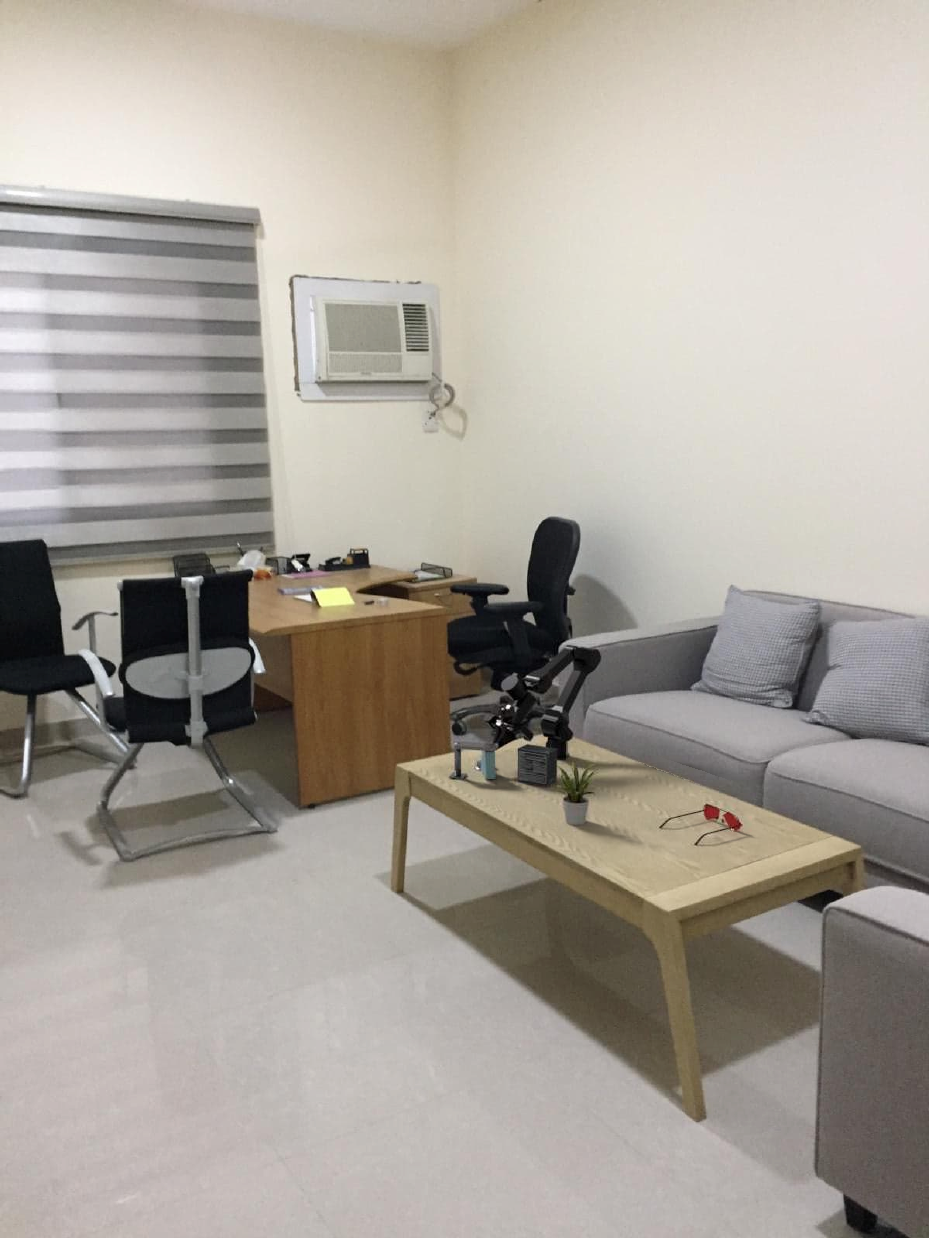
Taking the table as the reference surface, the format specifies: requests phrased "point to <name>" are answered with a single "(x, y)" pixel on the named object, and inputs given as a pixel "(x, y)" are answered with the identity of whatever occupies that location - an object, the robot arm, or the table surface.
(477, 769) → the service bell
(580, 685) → the robot arm
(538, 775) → the small box
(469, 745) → the keeper
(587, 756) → the table surface
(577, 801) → the house plant
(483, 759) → the link
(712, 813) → the glasses
